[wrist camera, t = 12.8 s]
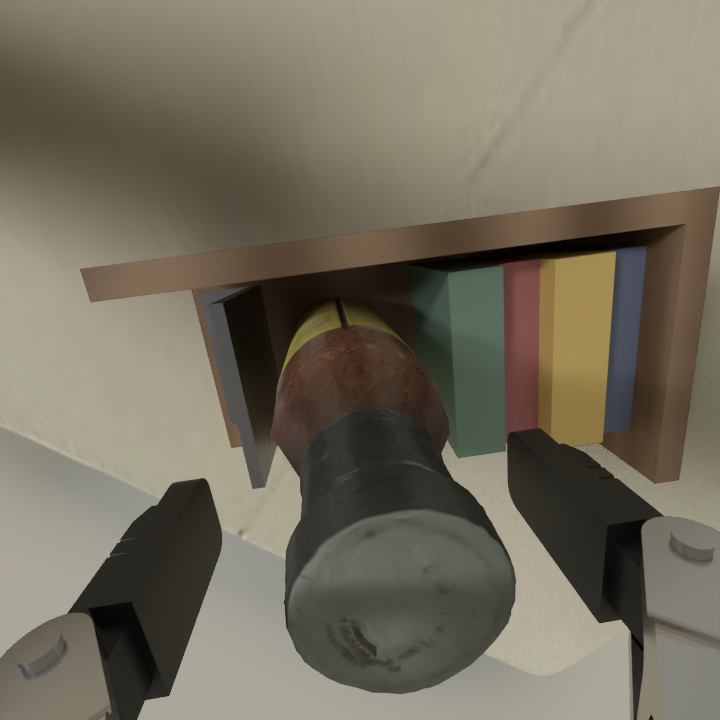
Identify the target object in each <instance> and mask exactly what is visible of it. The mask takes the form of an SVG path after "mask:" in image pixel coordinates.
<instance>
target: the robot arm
mask: <svg viewBox="0 0 720 720" xmlns="http://www.w3.org/2000/svg"><path fill="white" fill-rule="evenodd" d="M507 453H508V488H509V492H510V496H511V498H512V501H513V503H514V505H515V507H516V508H517V510H518V511H519V512H520V514H521V515H522V517H523V518H524V519H525V521H526V522H527V524H528V525H529V526H530V528H531V529H532V530H533V532H534V533H535V535H536V536H537V537H538V539H539V540H540V542H541V543H542V544H543V546H544V547H545V549H546V550H547V551H548V553H549V554H550V556H551V557H552V558H553V560H554V561H555V563H556V564H557V565H558V567H559V568H560V569H561V571H562V572H563V574H564V575H565V576H566V578H567V579H568V581H569V582H570V583H571V585H572V586H573V588H574V589H575V590H576V592H577V593H578V595H579V596H580V597H581V599H582V600H583V602H584V603H585V604H586V606H587V607H588V608H589V610H590V611H591V613H592V614H593V615H594V617H595V618H596V620H597V621H598V622H599V623H604V622H610V621H615V620H622V621H623V622H624V624H625V625H626V626H627V627H628V629H629V630H630V633H629V642H628V645H629V688H630V720H720V532H719V531H717V530H716V529H714V528H712V527H709V526H707V525H705V524H702V523H699V522H696V521H693V520H689V519H685V518H680V517H671V516H663V515H662V514H661V513H660V512H658V511H657V510H656V509H655V508H653V507H652V506H651V505H650V504H648V503H647V502H646V501H645V500H643V499H642V498H641V497H640V496H638V495H637V494H636V493H635V492H633V491H632V490H631V489H630V488H629V487H627V486H626V485H625V484H624V483H622V482H621V481H620V480H619V479H617V478H614V475H612V474H611V473H610V472H609V471H607V470H606V469H605V468H604V467H603V468H601V466H600V464H599V463H597V462H596V461H595V460H594V459H592V458H591V457H590V456H589V455H587V454H586V453H585V452H583V451H580V450H578V449H576V448H574V447H571V446H569V445H567V444H565V443H564V444H559V443H557V442H556V441H555V440H554V439H553V438H552V437H550V436H549V435H548V434H547V433H546V432H544V431H543V430H542V429H540V428H534V429H528V430H521V431H515V432H510V433H509V435H508V439H507ZM221 546H222V531H221V526H220V522H219V519H218V515H217V511H216V508H215V504H214V501H213V497H212V494H211V490H210V487H209V484H208V482H207V480H206V479H204V478H201V479H195V480H188V481H181V482H175V483H173V484H171V485H170V487H169V488H168V490H167V491H166V493H165V494H164V496H163V497H162V499H161V500H160V502H159V503H158V505H157V506H151V507H150V508H149V509H148V510H147V511H145V512H144V513H143V514H142V515H141V516H139V517H138V518H137V519H136V520H135V521H134V522H133V523H132V524H131V525H130V527H129V528H128V530H127V531H126V532H125V534H124V535H123V537H122V538H121V541H120V543H117V545H116V546H115V548H114V549H113V551H112V552H111V553H110V558H107V559H106V560H105V562H104V563H103V564H102V566H101V567H100V569H99V570H98V571H97V573H96V574H95V576H94V577H93V578H92V580H91V581H90V583H89V584H88V585H87V587H86V588H85V590H84V591H83V592H82V594H81V595H80V597H79V598H78V599H77V601H76V602H75V603H74V605H73V606H72V608H71V609H70V610H69V612H68V613H67V614H65V615H62V616H59V617H56V618H54V619H51V620H49V621H47V622H45V623H43V624H42V625H40V626H38V627H37V628H35V629H33V630H32V631H30V632H29V633H28V634H26V635H25V636H23V637H22V638H21V639H20V640H18V641H17V642H16V643H15V644H14V645H13V646H12V647H11V648H10V649H9V650H7V651H6V653H5V654H4V655H3V656H2V657H1V658H0V720H137V718H138V716H139V713H140V711H141V708H142V706H143V704H144V701H145V700H149V699H154V698H160V697H166V696H169V695H170V692H171V689H172V686H173V683H174V681H175V678H176V675H177V672H178V670H179V667H180V664H181V661H182V658H183V656H184V653H185V650H186V647H187V644H188V642H189V639H190V636H191V633H192V630H193V628H194V625H195V622H196V619H197V616H198V614H199V611H200V608H201V605H202V602H203V599H204V597H205V594H206V591H207V589H208V586H209V583H210V580H211V577H212V575H213V571H214V569H215V566H216V563H217V560H218V558H219V555H220V552H221Z"/></svg>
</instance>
